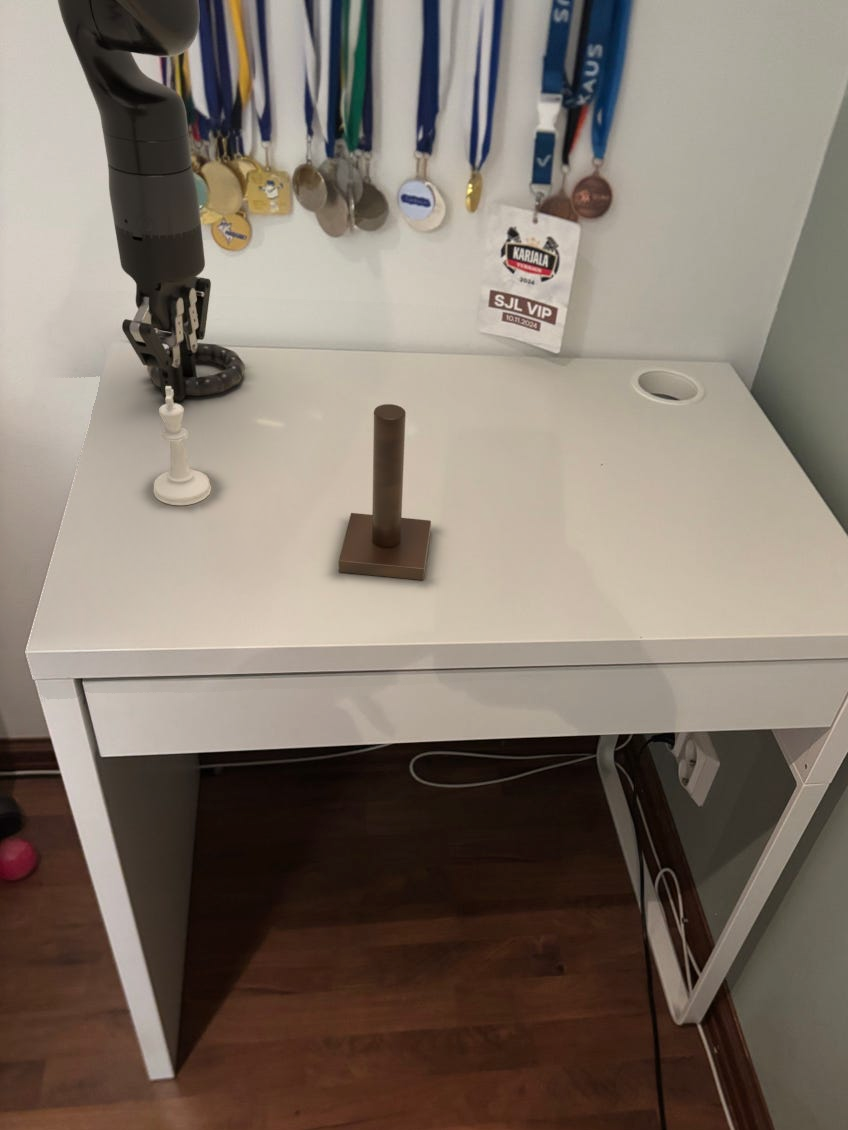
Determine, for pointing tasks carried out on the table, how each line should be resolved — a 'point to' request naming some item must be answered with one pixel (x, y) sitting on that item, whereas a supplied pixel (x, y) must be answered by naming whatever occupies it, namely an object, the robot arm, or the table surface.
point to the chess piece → (178, 462)
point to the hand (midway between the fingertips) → (180, 391)
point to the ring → (212, 382)
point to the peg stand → (386, 512)
